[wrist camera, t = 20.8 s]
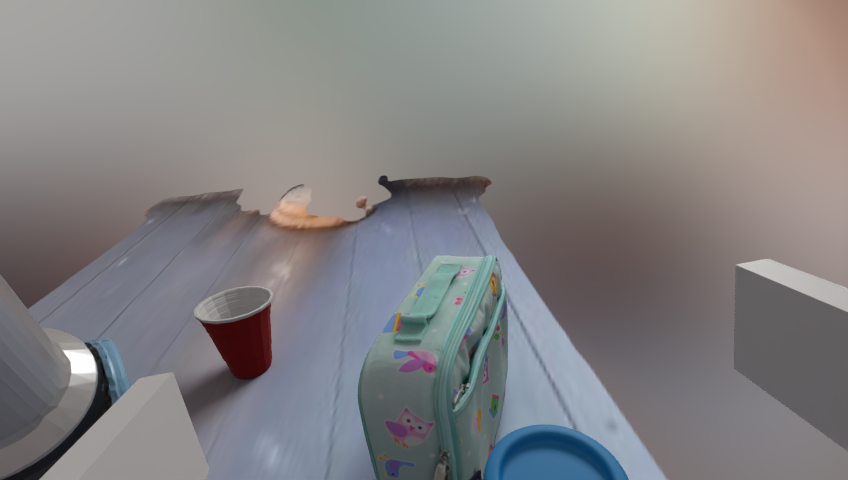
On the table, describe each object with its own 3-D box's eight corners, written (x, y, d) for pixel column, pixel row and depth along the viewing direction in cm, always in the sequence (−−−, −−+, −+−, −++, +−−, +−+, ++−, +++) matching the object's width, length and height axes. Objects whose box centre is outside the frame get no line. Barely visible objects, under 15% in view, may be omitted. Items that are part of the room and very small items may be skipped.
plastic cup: (298, 343, 73) (283, 279, 69) (273, 390, 64) (254, 320, 59) (235, 344, 74) (216, 282, 70) (202, 391, 65) (176, 322, 60)
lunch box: (477, 568, 40) (467, 384, 31) (372, 539, 43) (337, 365, 35) (512, 371, 63) (512, 233, 54) (442, 362, 66) (432, 230, 58)
